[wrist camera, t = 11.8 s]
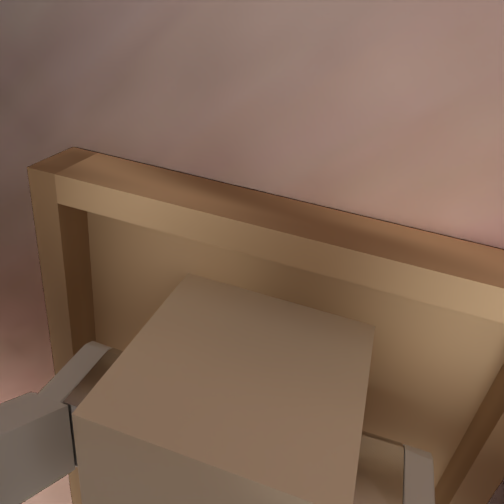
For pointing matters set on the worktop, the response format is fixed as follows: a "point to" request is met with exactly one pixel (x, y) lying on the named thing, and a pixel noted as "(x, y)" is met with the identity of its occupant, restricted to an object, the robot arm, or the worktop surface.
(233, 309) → the beige cube
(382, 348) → the oak tray
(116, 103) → the worktop surface
